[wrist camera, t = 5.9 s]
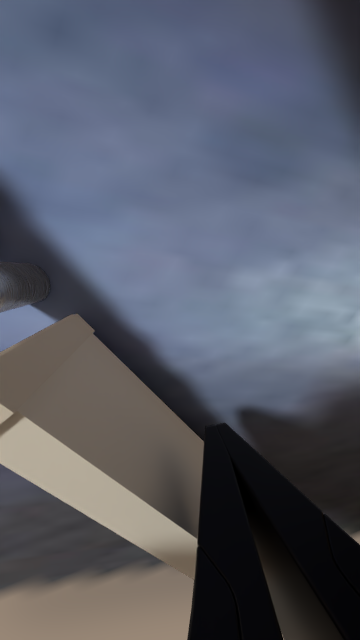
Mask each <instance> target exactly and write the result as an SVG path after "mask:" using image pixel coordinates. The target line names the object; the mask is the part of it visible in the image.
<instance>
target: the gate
mask: <svg viewBox="0 0 360 640" xmlns="http://www.w3.org/2000/svg"><path fill="white" fill-rule="evenodd" d="M94 331H95V330H94V329H93V328H92V327H90V326H89V325H88V324H87V323H86V322H85V321H84V320H83V319H82V318H81V317H80V316H79V315H78V314H75V315H73V314H71V315H69V316H67V317H65V318H64V319H62V320H60V321H58V322H56V323H54V324H52V325H50V326H49V327H47V328H45V329H43V330H41V331H39V332H37V333H36V334H34V335H32V336H30V337H28V338H26V339H24V340H22V341H21V342H19V343H17V344H15V345H13V346H11V347H9V348H7V349H6V350H4V351H2V352H0V464H2V465H4V466H5V467H7V468H9V469H10V470H12V471H14V472H15V473H17V474H19V475H20V476H22V477H24V478H25V479H27V480H29V481H30V482H32V483H34V484H35V485H37V486H39V487H40V488H42V489H44V490H45V491H47V492H49V493H50V494H52V495H54V496H55V497H57V498H59V499H60V500H62V501H64V502H65V503H67V504H69V505H70V506H72V507H74V508H75V509H77V510H79V511H80V512H82V513H84V514H85V515H87V516H89V517H90V518H92V519H94V520H95V521H97V522H99V523H100V524H102V525H104V526H105V527H107V528H108V529H110V530H112V531H113V532H115V533H117V534H118V535H120V536H122V537H123V538H125V539H127V540H128V541H130V542H132V543H133V544H135V545H137V546H138V547H140V548H142V549H143V550H145V551H147V552H148V553H150V554H152V555H153V556H155V557H157V558H158V559H160V560H162V561H163V562H165V563H167V564H168V565H170V566H172V567H173V568H175V569H177V570H178V571H180V572H182V573H183V574H185V575H187V576H188V577H190V578H192V579H193V580H194V577H195V564H196V550H197V547H198V546H197V538H198V523H199V509H200V494H201V480H202V465H203V450H204V441H203V440H202V439H201V438H200V437H198V436H197V435H196V434H195V433H194V432H193V431H192V430H191V429H190V428H189V427H188V426H187V425H186V424H185V423H184V422H183V421H182V420H181V419H180V418H179V417H178V416H177V415H176V414H175V413H174V412H173V411H172V410H171V409H170V408H169V407H168V406H167V405H166V404H165V403H164V402H163V401H162V400H161V399H159V398H158V397H157V396H156V395H155V394H154V393H153V392H152V391H151V390H150V389H149V388H148V387H147V386H146V385H145V384H144V383H143V382H142V381H141V380H140V379H139V378H138V377H137V376H136V375H135V374H134V373H133V372H132V371H131V370H130V369H129V368H128V367H127V366H126V365H125V364H124V363H123V362H122V361H120V360H119V359H118V358H117V357H116V356H115V355H114V354H113V353H112V352H111V351H110V350H109V349H108V348H107V347H106V346H105V345H104V344H103V343H102V342H101V341H100V340H99V339H98V338H97V337H96V336H95V335H94V334H93V332H94Z"/></svg>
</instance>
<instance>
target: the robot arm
mask: <svg viewBox="0 0 360 640" xmlns="http://www.w3.org/2000/svg"><path fill="white" fill-rule="evenodd" d="M197 546H198V547H197V550H196V564H195V577H194V588H193V598H192V609H191V616H190V624H189V632H188V639H187V640H283V637H284V640H360V545H359V544H358V543H357V542H356V541H355V540H354V539H353V538H351V537H350V536H349V535H348V534H347V533H346V532H345V531H344V530H342V529H341V528H340V527H339V526H338V525H337V524H336V523H335V522H334V521H332V520H331V519H330V518H329V517H328V516H327V515H326V514H324V515H323V512H322V511H321V510H320V509H319V508H318V507H317V506H316V505H315V504H314V503H313V502H311V501H310V500H309V499H308V498H307V497H306V496H305V495H304V494H303V493H302V492H301V491H299V490H298V489H297V488H296V487H295V486H294V485H293V484H292V483H291V482H290V481H288V480H287V479H286V478H285V477H284V476H283V475H282V474H281V473H280V472H279V471H277V470H276V469H275V468H274V467H273V466H272V465H271V464H270V463H269V462H268V461H266V460H265V459H264V458H263V457H262V456H261V455H260V454H259V453H258V452H257V451H255V450H254V449H253V448H252V447H251V446H250V445H249V444H248V443H247V442H246V441H244V440H243V439H242V438H241V437H240V436H239V435H238V434H237V433H236V432H235V431H233V430H232V429H231V428H230V427H229V426H228V425H227V424H226V423H220V424H216V425H210V426H206V427H205V436H204V450H203V465H202V480H201V494H200V509H199V523H198V538H197ZM281 632H282V633H281ZM282 635H283V637H282Z"/></svg>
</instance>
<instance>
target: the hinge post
mask: <svg viewBox="0 0 360 640" xmlns="http://www.w3.org/2000/svg"><path fill="white" fill-rule="evenodd" d="M49 292H50V281H49V278H48V276H47V275H46V273H45V272H44V271H43V270H42V269H41V268H39V267H37V266H36V265H33V264H29V263H14V262H0V313H1V312H4V311H8V310H11V309H15V308H19V307H22V306H26V305H29V304H33V303H37V302H40V301H42V300H44V299H45V298H46V297H47V296H48V294H49Z"/></svg>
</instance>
